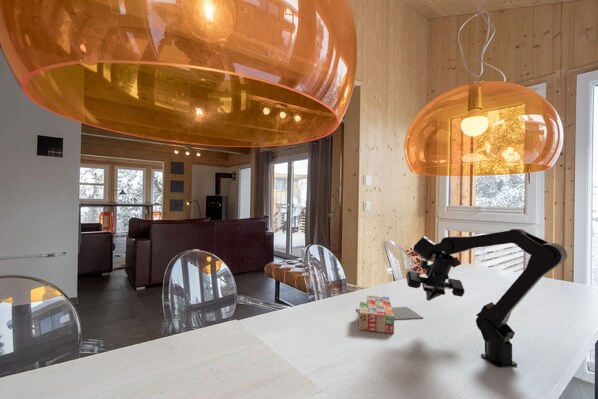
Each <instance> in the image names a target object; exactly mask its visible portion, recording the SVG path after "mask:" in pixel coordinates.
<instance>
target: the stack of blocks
mask: <svg viewBox="0 0 598 399" xmlns="http://www.w3.org/2000/svg"><path fill="white" fill-rule="evenodd" d="M392 307H393V306H392V304H391V300H390V297H388V296H378V295H375V296H373V295H367V296H366V301H360V302H359V307H358V309H359V313H358V323H359V324H358V329H359V330H361V331H368V332H375V333H376V332H379V333H385V334H393V335H394V334H395V320H394V314H393V310H392Z"/></svg>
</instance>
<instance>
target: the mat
mask: <svg viewBox="0 0 598 399" xmlns="http://www.w3.org/2000/svg"><path fill="white" fill-rule="evenodd" d="M391 307H392V310H393V314H394V321H400V320H401V321H402V320H419V319H421V320H422V319H424V317H423V316H421V314H419V313H417V312H415V311H414V310H412V309H410V308H409V307H407V306H395V307H393V306H391ZM355 311H356V312H357V313H358V314H359V308H356V309H355Z"/></svg>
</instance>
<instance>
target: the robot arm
mask: <svg viewBox="0 0 598 399" xmlns="http://www.w3.org/2000/svg"><path fill="white" fill-rule="evenodd" d="M505 244H514V245H515V246H517V247H518V248H520V249H521V250H522V251H524V252H525V253H526V254H529V255H530V256H529V259H528V262H527V263H526V267H525V268H524V270H523V271H522V272H521V273H520V274H519V276H518V277H517V278H516V279H515V281H514V282H513V283H512V284H511V286H510V287H509V288H508V289H507V290H506V291H505V292H504V294H502V296H501V297H500V299H498V301H497V302H496V303H493V301H491V302H489V303H486V304H485V305H483V306H482V308H481V310H480V311H479V312H478V313H477V314H475V316H477V317H476V319H475V323H476V326H477V328H478V330H479V331H480V332H481V335H482V338H483V339H482V340H484V353H481V354H480V357H482V358H483V359H485V360H486V361H488V362H490V363H491V364H493V365H494V366H496V367H497V368H502V367H503V368H504V367H513V366H518V363H517V362H515V361H514V360H513V343H511V341H510V340H512V339H514V336H515V334H516V333H515V330H513V329H512V328H511V327H510V325H508V322H509V320H510V317H511V314H512V312H513V310H514V309H515V308H516V307H517V306H518V305H519V304H520V302H521V301H522V300H523V299H524V298H525V297H526V296H527V295H528V294H529V293H530V292H531V291H532V289H533V288H534V287H535V286H536V285H537V283H538V282H539V281H540V280H541V279H542V278H543V277H544V276H546V275H547V274H549V273H550V272H551V271H553V270H554V269H556V268H557V267H559V266H560V265H561V264H563V263H564V262H565V261H566V260H567V259H568V253H567V250H566V248H565V247H564V246H563V245H561V244H559V243H554V242H548V241H546V240H544V239H542V238H540V237H538V236H536V235H533V234H531V233H529V232H527V231H526V230H524V229H522V228H512V229H511V228H510V229H509V230H505V231H497V232H493V233H492V232H491V233H487V234H486V233H485V234H480V235H472V236H469V235H467V236H466V235H462V236H461V235H459V236H458V235H454V236H445V237H443V238H442V239H441V240H440V242H438V243H435V242H434V241H432V240H430V239H429V238H428V237H427V236H422V237H421V238H420V239H419V240H418V241H417V242H416V243H415V244H414V246H413V248H412V251H413V252H414V253H416V254H417V255H419V256H420V257H421V261H420V264H419V267H420V268H421V269H422V270H425V276H426V277H423V276H421V275H420V272H415V271H413V270H408V271H407V272H406V275H405V277H406V283H407V286H408V287H409V288H413V289H419V288H420V287H421V285H422V289H423V291H424V292H425V295H426V296H425V297H426V301H431V300H433V299H435V298H437V297H440V296H441V295H442V296H445V295H446V290H452V291H451V293H452V295H453V296H454V297H455V296H456V297H461V298H462V297H463V296H464V294H465V287H464V285H463V283H462V280H460V279H456V278H450V276H449V273H450V271H451V269H452V268H456V267H458V266H460V265H461V264H462V263H461V261H460V260H459V259H458V256H453V255H456V254H460V253H463V252H467V251H470V250H473V249H476V248H481V247H482V248H483V247H490V246H501V245H505Z"/></svg>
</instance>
